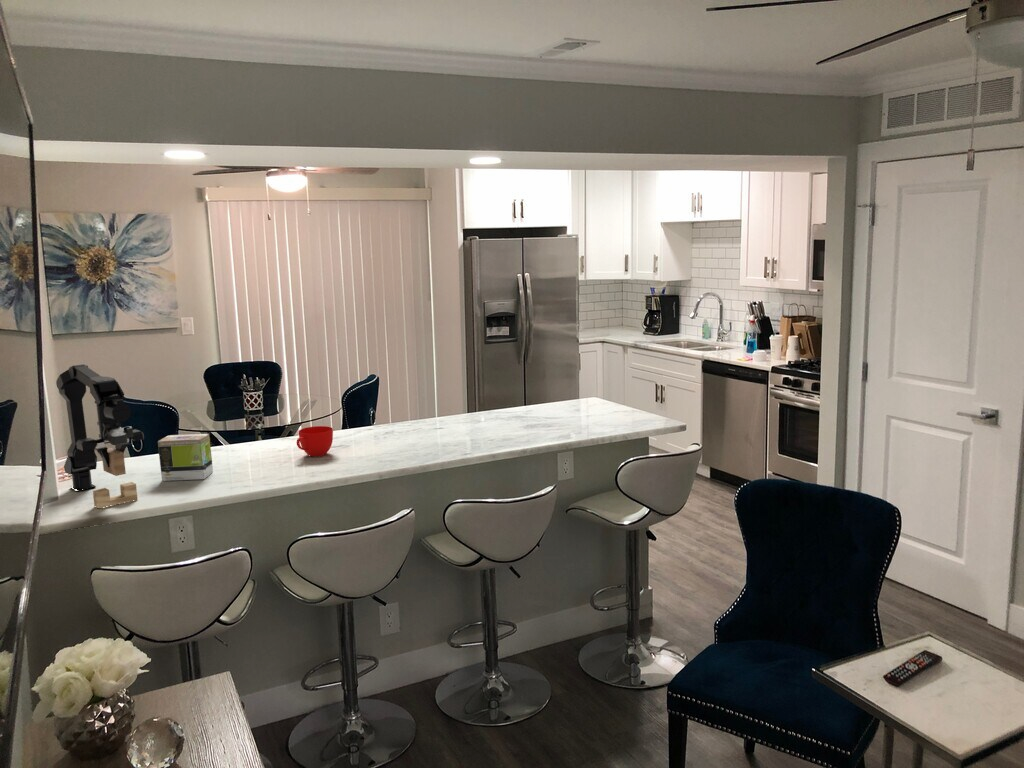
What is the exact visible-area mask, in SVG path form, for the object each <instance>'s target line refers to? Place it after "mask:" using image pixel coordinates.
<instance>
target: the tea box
mask: <svg viewBox="0 0 1024 768" xmlns="http://www.w3.org/2000/svg"><path fill="white" fill-rule="evenodd" d="M157 447H158V456H159V457H158V458H159V466H160V474H161V475H160V476H161V481H162V482H168V481H171V482H172V481H189V480H191V481H193V480H205V479H207V478H208V477H209V476H210V475H212V474H213V473H212V472H214V471H213V470H214V469H213V468H214V467H213V460H212V459H213V458H212V449H211V437H210V433H195V434H194V433H192V434H191V433H190V434H188V433H187V434H170V435H167V436H165V437H163V438H161V439H159V440H158V441H157ZM207 476H208V477H207ZM206 477H207V478H206Z"/></svg>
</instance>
